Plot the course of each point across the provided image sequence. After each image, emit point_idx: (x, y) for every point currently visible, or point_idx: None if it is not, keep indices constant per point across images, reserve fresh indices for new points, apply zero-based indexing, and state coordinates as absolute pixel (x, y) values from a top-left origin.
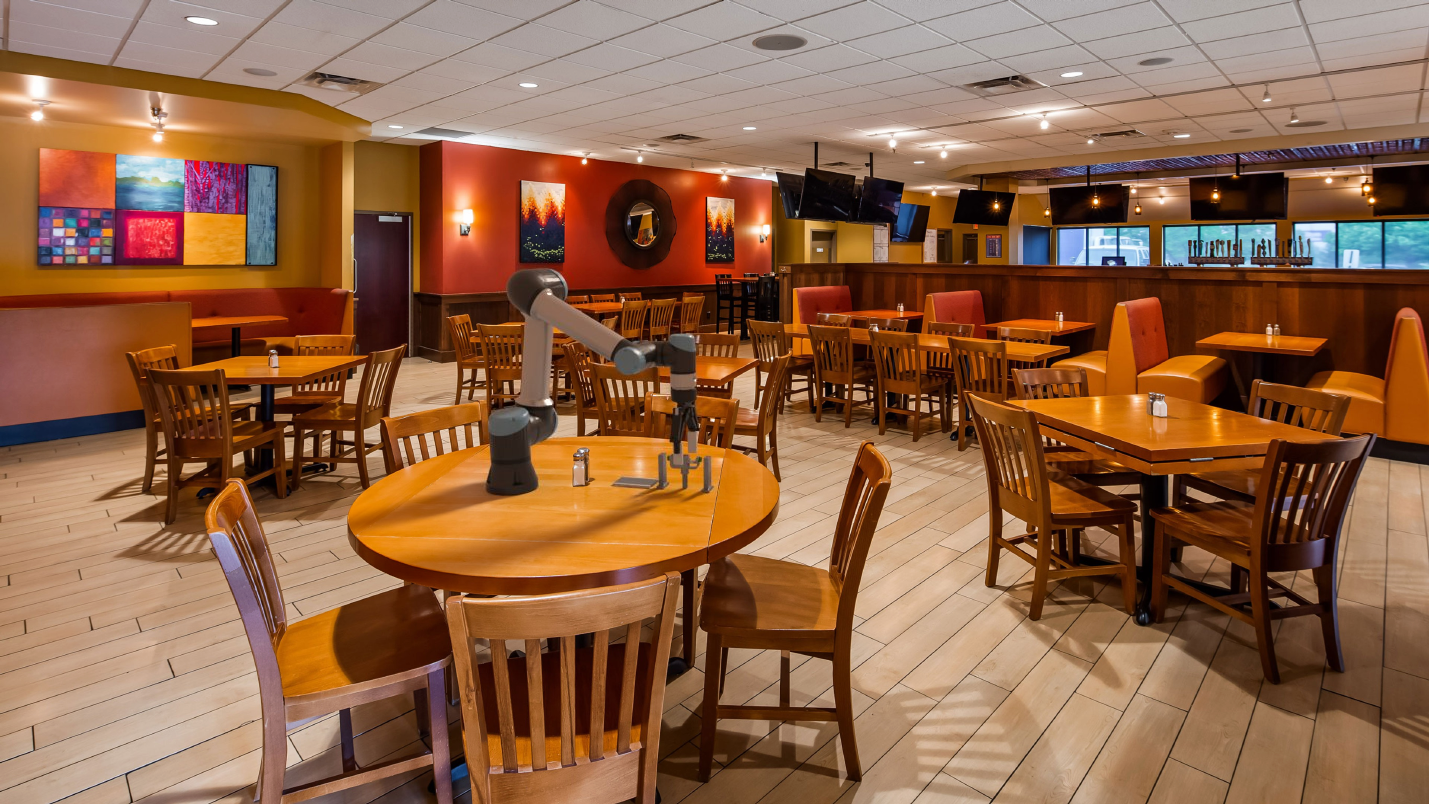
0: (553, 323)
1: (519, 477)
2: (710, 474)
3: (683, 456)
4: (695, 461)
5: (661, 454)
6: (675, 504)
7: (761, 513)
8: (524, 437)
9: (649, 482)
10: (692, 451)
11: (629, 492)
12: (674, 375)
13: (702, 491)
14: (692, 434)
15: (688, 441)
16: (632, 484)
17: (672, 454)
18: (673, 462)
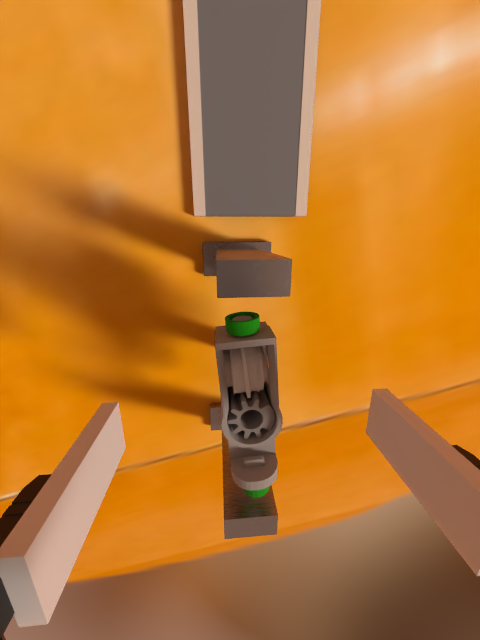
0: None
1: None
2: None
3: (258, 409)
4: (255, 449)
5: (237, 279)
6: (53, 374)
7: (90, 573)
8: None
9: (248, 191)
10: (374, 418)
11: (110, 144)
12: None
13: (210, 408)
14: (465, 525)
15: (421, 443)
16: (195, 118)
17: (271, 344)
18: (97, 410)
